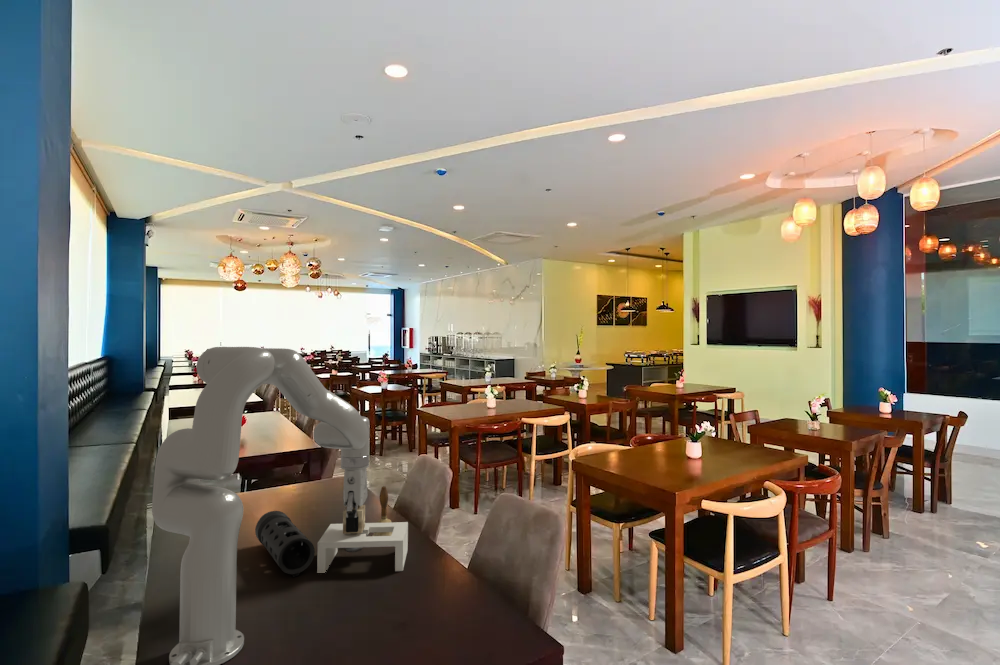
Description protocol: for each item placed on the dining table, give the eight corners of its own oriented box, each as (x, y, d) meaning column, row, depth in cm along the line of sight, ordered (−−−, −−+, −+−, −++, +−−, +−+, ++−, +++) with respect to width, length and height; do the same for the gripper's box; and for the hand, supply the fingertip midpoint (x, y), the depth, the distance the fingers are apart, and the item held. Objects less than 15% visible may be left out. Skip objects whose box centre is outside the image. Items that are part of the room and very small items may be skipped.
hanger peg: (361, 552, 138) (362, 510, 138) (342, 553, 138) (343, 511, 138) (364, 545, 143) (365, 505, 143) (346, 545, 143) (347, 505, 143)
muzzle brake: (276, 583, 128) (277, 541, 128) (253, 547, 150) (253, 512, 150) (315, 573, 133) (316, 533, 134) (287, 540, 156) (287, 506, 156)
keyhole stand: (402, 571, 135) (403, 540, 135) (317, 573, 133) (317, 542, 133) (407, 549, 149) (407, 522, 149) (330, 551, 147) (330, 523, 147)
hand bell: (371, 545, 152) (371, 491, 152) (369, 535, 160) (369, 484, 160) (399, 542, 154) (400, 489, 155) (396, 532, 162) (396, 482, 163)
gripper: (363, 468, 133) (362, 539, 132) (373, 454, 150) (372, 517, 149) (333, 469, 132) (332, 540, 132) (347, 455, 149) (346, 518, 149)
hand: (354, 527), depth 141 cm, fingers closed on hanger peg, 4 cm apart
